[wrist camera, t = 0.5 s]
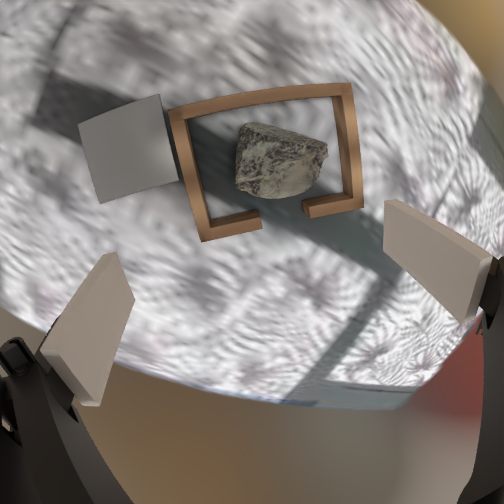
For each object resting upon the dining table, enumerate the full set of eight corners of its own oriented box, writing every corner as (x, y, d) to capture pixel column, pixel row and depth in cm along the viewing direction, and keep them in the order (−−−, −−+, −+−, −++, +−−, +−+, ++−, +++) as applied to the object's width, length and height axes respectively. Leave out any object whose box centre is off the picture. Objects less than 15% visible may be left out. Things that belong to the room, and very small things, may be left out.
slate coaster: (79, 124, 27) (77, 124, 27) (159, 94, 28) (158, 93, 27) (101, 202, 32) (99, 204, 32) (179, 179, 33) (178, 180, 32)
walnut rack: (171, 111, 29) (167, 110, 26) (340, 85, 30) (350, 82, 27) (202, 233, 36) (201, 242, 33) (353, 201, 37) (364, 207, 34)
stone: (318, 117, 22) (254, 209, 25) (347, 159, 30) (299, 226, 33) (249, 87, 26) (198, 162, 29) (290, 126, 35) (248, 186, 38)
